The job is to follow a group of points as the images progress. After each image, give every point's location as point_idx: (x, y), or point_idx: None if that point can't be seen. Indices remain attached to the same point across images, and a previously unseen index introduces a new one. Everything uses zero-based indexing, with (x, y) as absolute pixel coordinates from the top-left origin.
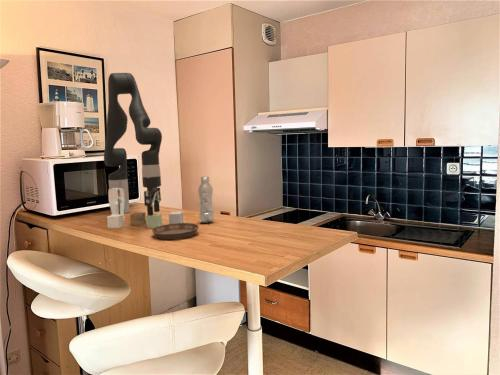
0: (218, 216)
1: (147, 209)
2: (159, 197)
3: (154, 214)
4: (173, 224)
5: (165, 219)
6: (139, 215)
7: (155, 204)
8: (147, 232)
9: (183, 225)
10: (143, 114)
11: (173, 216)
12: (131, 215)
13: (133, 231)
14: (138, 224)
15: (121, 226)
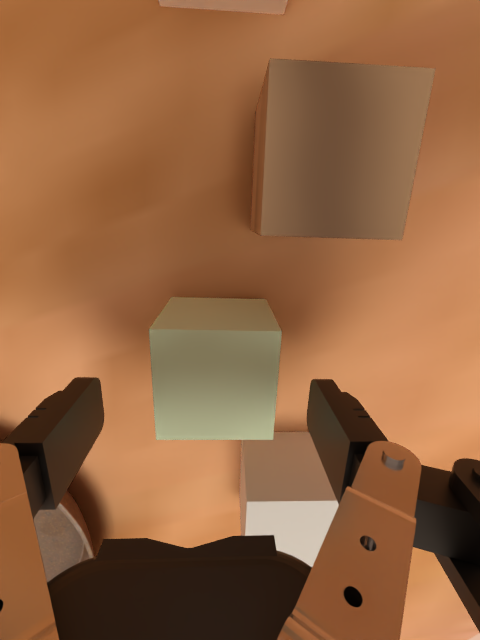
0: (453, 615)
1: (38, 418)
2: (462, 598)
3: (243, 385)
4: (76, 524)
5: (468, 352)
6: (259, 208)
7: (341, 453)
8: (8, 351)
9: None
10: None
11: (244, 512)
12: (266, 86)
13: (25, 227)
14: (253, 194)
15: (218, 7)
